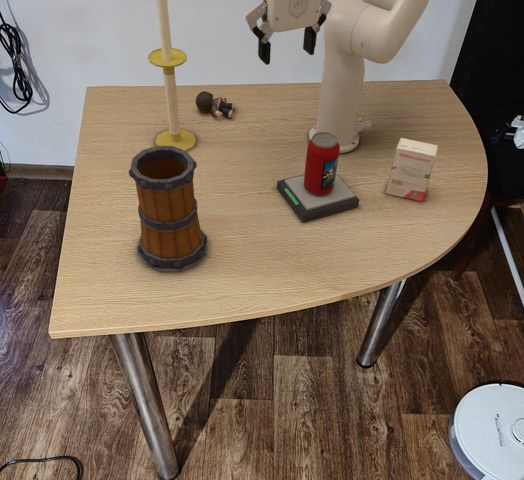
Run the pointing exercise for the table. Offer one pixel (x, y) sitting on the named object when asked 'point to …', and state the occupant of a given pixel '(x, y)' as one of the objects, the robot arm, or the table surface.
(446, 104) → the table surface
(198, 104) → the figurine
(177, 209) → the mug
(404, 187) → the ink box
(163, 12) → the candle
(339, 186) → the scale
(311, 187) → the beverage can
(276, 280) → the table surface
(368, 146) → the table surface
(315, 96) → the table surface
